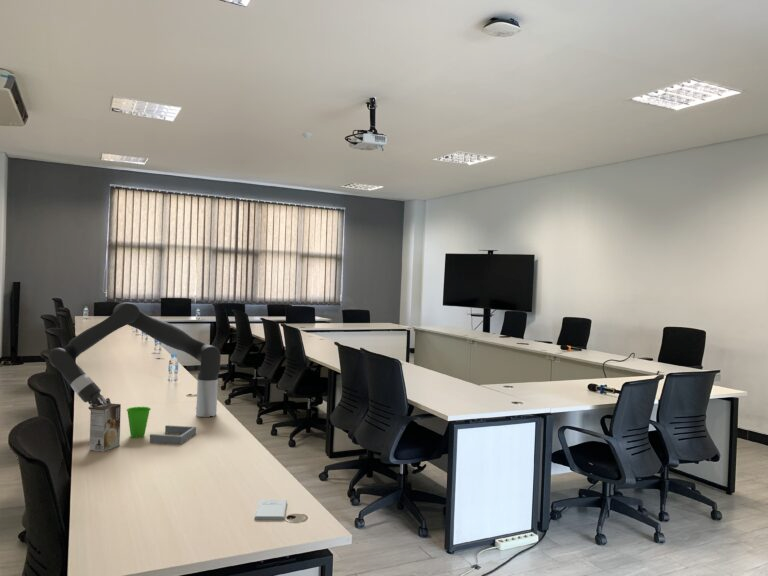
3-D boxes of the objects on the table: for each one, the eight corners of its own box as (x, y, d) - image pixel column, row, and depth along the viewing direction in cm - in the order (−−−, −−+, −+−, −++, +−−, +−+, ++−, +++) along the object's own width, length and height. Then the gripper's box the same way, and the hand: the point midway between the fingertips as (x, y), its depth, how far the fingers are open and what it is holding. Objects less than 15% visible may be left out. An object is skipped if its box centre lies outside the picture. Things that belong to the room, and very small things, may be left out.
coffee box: (105, 444, 223) (106, 402, 223) (120, 445, 222) (121, 403, 222) (88, 450, 214) (90, 407, 214) (103, 452, 213) (105, 408, 213)
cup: (154, 434, 239) (155, 408, 238) (138, 440, 230) (139, 412, 230) (136, 431, 242) (137, 405, 241) (120, 437, 233) (121, 409, 233)
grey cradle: (166, 432, 243) (166, 425, 243) (195, 434, 242) (196, 426, 242) (149, 442, 228) (150, 434, 228) (181, 444, 227) (181, 436, 227)
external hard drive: (254, 522, 161) (259, 504, 173) (284, 522, 162) (286, 504, 174) (254, 516, 161) (259, 498, 173) (284, 516, 161) (287, 499, 174)
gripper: (82, 384, 230) (111, 417, 229) (100, 379, 243) (128, 410, 243) (69, 397, 230) (98, 429, 230) (88, 391, 243) (115, 421, 243)
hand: (113, 419), depth 236 cm, fingers closed
